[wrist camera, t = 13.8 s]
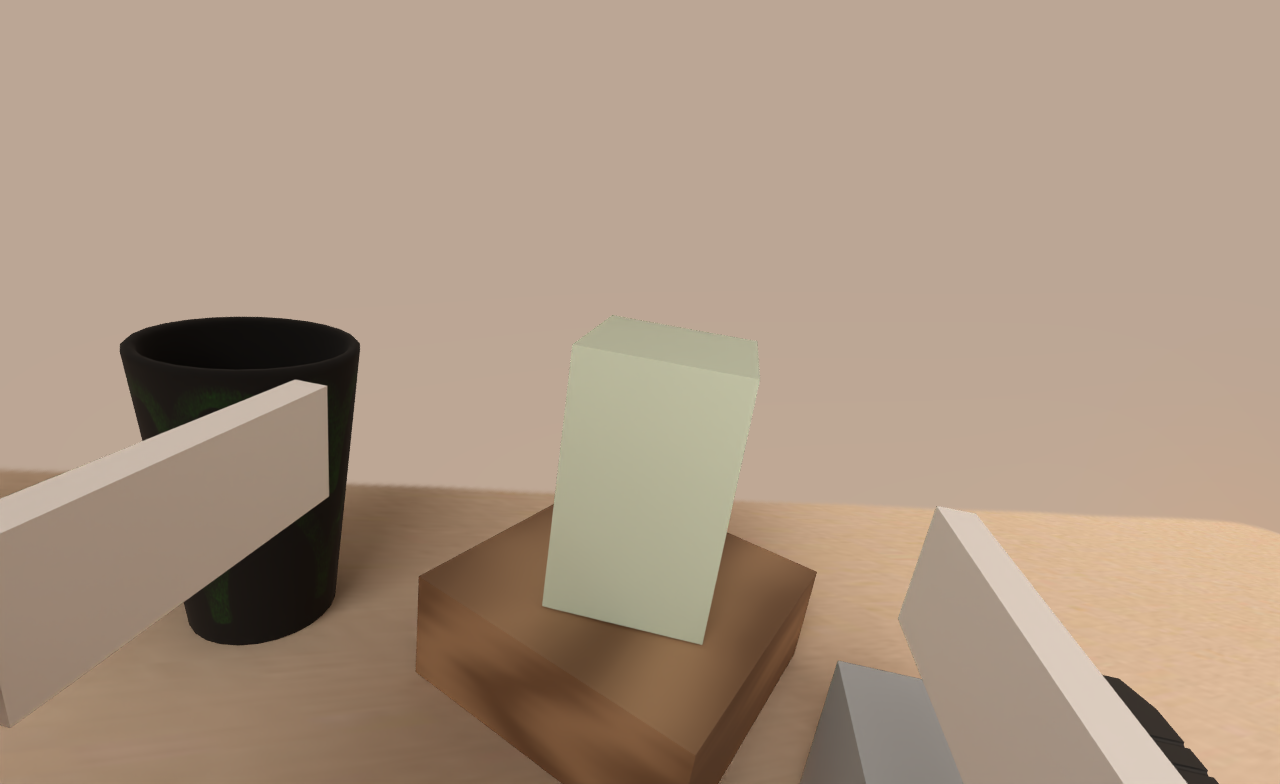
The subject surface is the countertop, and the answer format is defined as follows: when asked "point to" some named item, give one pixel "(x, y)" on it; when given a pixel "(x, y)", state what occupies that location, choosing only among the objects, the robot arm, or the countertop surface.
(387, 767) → the countertop surface
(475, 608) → the walnut block
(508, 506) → the countertop surface
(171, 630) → the countertop surface
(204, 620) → the cup
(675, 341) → the sage block
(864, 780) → the grey block
